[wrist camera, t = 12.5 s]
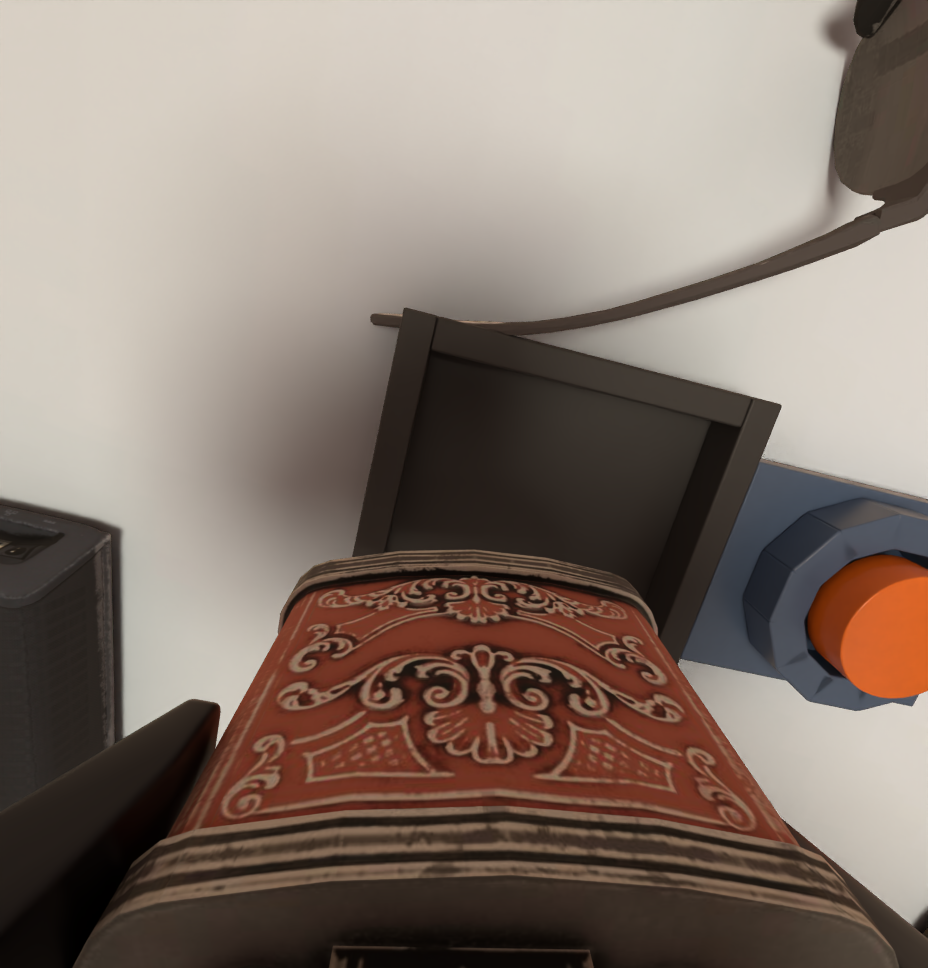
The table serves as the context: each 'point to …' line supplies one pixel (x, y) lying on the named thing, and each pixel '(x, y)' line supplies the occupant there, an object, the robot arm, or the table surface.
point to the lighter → (477, 796)
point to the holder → (560, 462)
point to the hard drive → (52, 649)
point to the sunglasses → (858, 160)
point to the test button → (875, 625)
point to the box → (798, 575)
